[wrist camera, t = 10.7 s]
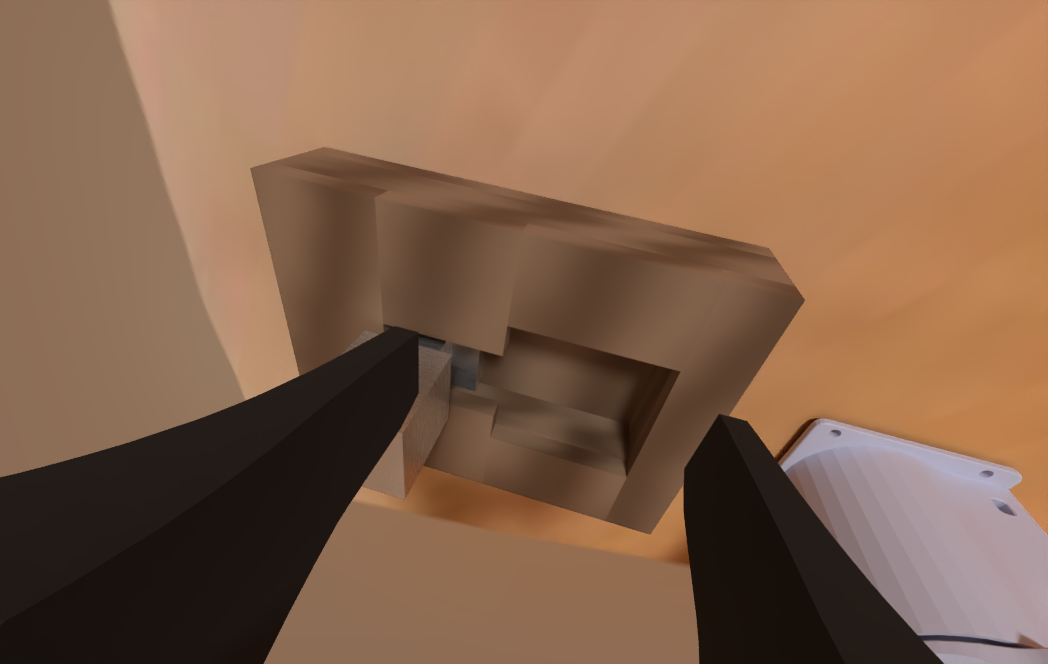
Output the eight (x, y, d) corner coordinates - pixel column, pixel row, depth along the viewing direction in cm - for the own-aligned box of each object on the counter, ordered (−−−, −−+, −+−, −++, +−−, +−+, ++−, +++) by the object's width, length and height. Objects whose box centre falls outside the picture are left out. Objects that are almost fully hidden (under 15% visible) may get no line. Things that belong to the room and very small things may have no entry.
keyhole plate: (769, 248, 17) (804, 300, 13) (648, 467, 25) (650, 534, 22) (324, 147, 19) (250, 168, 15) (355, 383, 27) (312, 431, 24)
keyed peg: (491, 302, 20) (416, 428, 13) (482, 376, 23) (416, 510, 16) (397, 278, 20) (278, 387, 14) (400, 354, 23) (303, 474, 17)
